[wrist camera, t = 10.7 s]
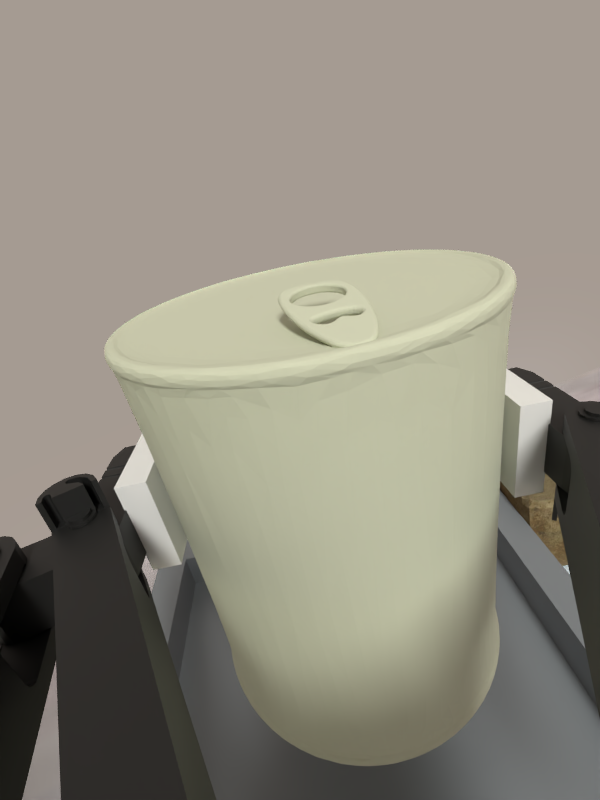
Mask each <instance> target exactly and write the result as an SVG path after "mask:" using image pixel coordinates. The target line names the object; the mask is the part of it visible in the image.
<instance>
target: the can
mask: <svg viewBox="0 0 600 800" xmlns="http://www.w3.org/2000/svg"><path fill="white" fill-rule="evenodd" d="M516 285H517V281H516V275H515V273H514V270H513V269H512V268H511V267H510V266H509V265H508V264H507V263H506V262H504V261H502V260H500V259H497V258H495V257H492V256H488V255H485V254H480V253H475V252H466V251H457V250H402V251H387V252H376V253H367V254H357V255H349V256H342V257H335V258H329V259H323V260H317V261H311V262H305V263H300V264H295V265H290V266H285V267H280V268H276V269H272V270H267V271H263V272H259V273H255V274H251V275H247V276H243V277H239V278H235V279H231V280H228V281H224V282H221V283H218V284H214V285H211V286H208V287H205V288H202V289H199V290H196V291H193V292H190V293H188V294H185V295H182V296H180V297H177V298H174V299H172V300H169V301H167V302H164V303H162V304H160V305H158V306H155V307H153V308H151V309H149V310H147V311H145V312H143V313H141V314H139V315H138V316H136V317H134V318H133V319H131V320H130V321H128V322H126V323H125V324H124V325H122V326H121V327H120V328H119V329H117V330H116V331H115V332H114V333H113V334H112V335H111V336H110V337H109V339H108V341H107V343H106V345H105V348H104V350H105V351H104V353H105V359H106V362H107V364H108V365H109V367H110V368H111V369H112V370H113V372H114V374H115V376H116V378H117V379H118V381H119V383H120V386H121V388H122V390H123V392H124V394H125V397H126V399H127V401H128V403H129V405H130V407H131V410H132V412H133V414H134V416H135V419H136V421H137V423H138V425H139V427H140V430H141V432H142V434H143V436H144V438H145V441H146V443H147V445H148V448H149V450H150V452H151V455H152V457H153V459H154V462H155V464H156V466H157V469H158V471H159V473H160V476H161V478H162V480H163V483H164V485H165V487H166V490H167V492H168V494H169V497H170V499H171V502H172V504H173V506H174V509H175V511H176V513H177V516H178V518H179V520H180V523H181V525H182V527H183V530H184V532H185V534H186V537H187V539H188V542H189V544H190V547H191V549H192V551H193V554H194V556H195V559H196V561H197V564H198V566H199V568H200V571H201V573H202V576H203V578H204V581H205V583H206V585H207V588H208V590H209V593H210V595H211V598H212V600H213V602H214V605H215V607H216V610H217V612H218V615H219V618H220V620H221V623H222V625H223V628H224V630H225V633H226V636H227V638H228V641H229V644H230V647H231V650H232V657H233V663H234V667H235V670H236V674H237V677H238V679H239V682H240V685H241V687H242V689H243V691H244V693H245V695H246V697H247V698H248V700H249V702H250V704H251V705H252V707H253V708H254V710H255V711H256V712H257V713H258V715H259V716H260V717H261V718H262V720H263V721H264V722H265V723H266V724H267V725H268V726H269V727H270V728H271V729H272V730H273V731H274V732H276V733H277V734H278V735H279V736H281V737H282V738H283V739H284V740H286V741H287V742H289V743H290V744H292V745H294V746H296V747H297V748H299V749H301V750H303V751H305V752H307V753H309V754H311V755H313V756H316V757H318V758H322V759H325V760H329V761H332V762H336V763H340V764H347V765H354V766H379V765H388V764H394V763H399V762H402V761H405V760H409V759H412V758H415V757H418V756H420V755H423V754H425V753H427V752H429V751H431V750H433V749H435V748H437V747H438V746H440V745H442V744H443V743H444V742H446V741H447V740H448V739H450V738H451V737H453V736H454V735H455V734H456V733H457V732H458V731H459V730H460V729H461V728H463V727H464V726H465V725H466V724H467V722H468V721H469V720H470V719H471V718H472V717H473V716H474V714H475V713H476V711H477V710H478V708H479V707H480V705H481V704H482V702H483V701H484V699H485V697H486V695H487V693H488V691H489V689H490V687H491V684H492V681H493V678H494V675H495V671H496V667H497V663H498V656H499V647H500V635H499V622H498V617H497V612H496V608H495V603H496V565H497V536H498V513H499V494H500V475H501V456H502V436H503V417H504V400H505V384H506V368H507V353H508V338H509V327H510V319H511V310H512V302H513V296H514V294H515V290H516Z"/></svg>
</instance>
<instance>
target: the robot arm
mask: <svg viewBox="0 0 600 800" xmlns="http://www.w3.org/2000/svg"><path fill="white" fill-rule="evenodd" d="M545 473H546V474H547V475H548V476H549V477H550V478H551V479H552V480H553V481H554V482H555V483H556V488H555V496H554V505H553V513H552V520H554V521H557V516H558V518H559V523H560V527H561V532H562V537H563V542H564V547H565V552H566V557H567V561H568V566H569V571H570V576H571V581H572V586H573V591H574V596H575V600H576V605H577V610H578V615H579V620H580V625H581V630H582V634H583V639H584V644H585V649H586V654H587V659H588V664H589V668H590V673H591V678H592V683H593V688H594V693H595V698H596V703H597V707H598V712H599V717H600V402H595V401H587V402H579V401H578V400H576V399H574V398H573V397H571V396H570V395H568V394H566V393H565V392H563V391H562V390H560V389H559V388H557V387H553V385H552V384H551V383H549V382H547V381H544V379H543V378H541V377H540V376H538V375H536V374H535V373H533V372H530V371H527V370H524V369H520V368H511V369H507V368H506V384H505V400H504V417H503V436H502V456H501V475H500V481H501V482H502V483H503V485H504V486H505V487H506V488H507V489H508V491H509V492H510V493H511V494H512V495H513V496H514V498H516V497H521V496H526V495H531V494H536V493H541V492H543V489H544V480H545ZM35 505H36V507H37V509H38V510H39V512H40V514H41V516H42V517H43V519H44V521H45V522H46V524H47V525H48V527H49V529H50V530H51V532H52V536H50V537H48V538H46V539H43V540H41V541H38V542H36V543H34V544H31V545H29V546H26V547H24V548H20V547H19V545H18V544H17V542H16V541H15V540H14V539H13V538H12V537H6V536H4V537H0V800H22V797H23V793H24V789H25V785H26V781H27V777H28V773H29V768H30V764H31V760H32V756H33V752H34V748H35V744H36V740H37V736H38V731H39V727H40V723H41V719H42V715H43V711H44V707H45V703H46V699H47V694H48V690H49V686H50V682H51V678H52V674H53V670H54V666H55V662H56V669H57V698H58V726H59V754H60V782H61V800H216V797H215V793H214V790H213V787H212V784H211V781H210V778H209V774H208V771H207V768H206V765H205V762H204V759H203V755H202V752H201V749H200V746H199V743H198V740H197V736H196V733H195V730H194V727H193V724H192V721H191V717H190V714H189V711H188V708H187V705H186V702H185V699H184V695H183V692H182V689H181V686H180V683H179V680H178V676H177V673H176V670H175V667H174V664H173V661H172V657H171V654H170V651H169V648H168V645H167V642H166V638H165V635H164V632H163V629H162V626H161V623H160V620H159V616H158V613H157V610H156V607H155V604H154V601H153V597H152V594H151V591H150V588H149V585H148V582H147V579H146V577H145V575H144V573H143V571H142V569H141V568H142V565H143V562H144V559H145V556H147V558H148V560H149V562H150V564H151V566H152V568H153V570H156V569H161V568H166V567H171V566H176V565H181V564H182V561H183V556H184V552H185V547H186V543H187V537H186V534H185V532H184V530H183V527H182V525H181V523H180V520H179V518H178V516H177V513H176V511H175V509H174V506H173V504H172V502H171V499H170V497H169V494H168V492H167V490H166V487H165V485H164V483H163V480H162V478H161V476H160V473H159V471H158V469H157V466H156V464H155V462H154V459H153V457H152V455H151V452H150V450H149V448H148V445H147V443H146V441H145V438H144V436H143V434H142V435H141V437H140V439H139V441H138V443H137V444H136V445H135V446H130V447H125V448H124V449H123V450H122V451H120V452H119V453H118V454H117V455H116V456H115V457H114V458H113V459H112V461H111V462H110V464H109V466H108V467H107V471H105V473H104V474H103V476H102V479H101V480H100V481H99V483H98V481H97V479H96V478H95V477H94V476H93V475H90V474H80V475H74V476H71V477H69V478H66V479H63V480H62V481H60V482H58V483H56V484H54V485H52V486H51V487H50V488H48V489H47V490H45V491H44V492H43V493H42V494H41V495H40V497H39V498H38V499H37V502H36V504H35Z"/></svg>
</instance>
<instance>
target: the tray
mask: <svg viewBox="0 0 600 800" xmlns="http://www.w3.org/2000/svg"><path fill="white" fill-rule="evenodd" d="M152 597H153V601H154V604H155V607H156V610H157V613H158V616H159V620H160V623H161V626H162V629H163V632H164V635H165V638H166V642H167V645H168V648H169V651H170V654H171V657H172V661H173V664H174V667H175V670H176V673H177V676H178V680H179V683H180V686H181V689H182V692H183V695H184V699H185V702H186V705H187V708H188V711H189V714H190V717H191V721H192V724H193V727H194V730H195V733H196V736H197V740H198V743H199V746H200V749H201V752H202V755H203V759H204V762H205V765H206V768H207V771H208V774H209V778H210V781H211V784H212V787H213V790H214V793H215V797H216V800H600V717H599V712H598V707H597V703H596V698H595V693H594V688H593V683H592V678H591V673H590V668H589V664H588V659H587V654H586V649H585V644H584V639H583V634H582V630H581V625H580V620H579V615H578V610H577V605H576V600H575V596H574V591H573V586H572V581H571V576H570V575H569V574H568V572H567V571H566V570H565V569H564V567H563V566H562V565H561V564H560V563H559V561H558V560H557V559H556V558H555V556H554V555H553V554H552V553H551V552H550V550H549V549H548V548H547V547H546V545H545V544H544V543H543V542H542V541H541V539H540V538H539V537H538V536H537V534H536V533H535V532H534V531H533V530H532V528H531V527H530V526H529V525H528V524H527V522H526V521H525V520H524V519H523V517H522V516H521V515H520V514H519V513H518V511H517V510H516V509H515V508H514V506H513V505H512V504H511V503H510V502H509V500H508V499H507V498H506V497H505V495H504V494H503V493H502V492H501V491H500V494H499V513H498V536H497V565H496V603H495V608H496V612H497V617H498V622H499V635H500V647H499V656H498V663H497V667H496V671H495V675H494V678H493V681H492V684H491V687H490V689H489V691H488V693H487V695H486V697H485V699H484V701H483V702H482V704H481V705H480V707H479V708H478V710H477V711H476V713H475V714H474V716H473V717H472V718H471V719H470V720H469V721H468V722H467V724H466V725H465V726H464V727H463V728H461V729H460V730H459V731H458V732H457V733H456V734H455V735H454V736H453V737H451V738H450V739H448V740H447V741H446V742H444V743H443V744H442V745H440V746H438V747H437V748H435V749H433V750H431V751H429V752H427V753H425V754H423V755H420V756H418V757H415V758H412V759H409V760H405V761H402V762H399V763H394V764H388V765H379V766H354V765H347V764H340V763H336V762H332V761H329V760H325V759H322V758H318V757H316V756H313V755H311V754H309V753H307V752H305V751H303V750H301V749H299V748H297V747H296V746H294V745H292V744H290V743H289V742H287V741H286V740H284V739H283V738H282V737H281V736H279V735H278V734H277V733H276V732H274V731H273V730H272V729H271V728H270V727H269V726H268V725H267V724H266V723H265V722H264V721H263V720H262V718H261V717H260V716H259V715H258V713H257V712H256V711H255V710H254V708H253V707H252V705H251V704H250V702H249V700H248V698H247V697H246V695H245V693H244V691H243V689H242V687H241V685H240V682H239V679H238V677H237V674H236V670H235V667H234V663H233V657H232V650H231V647H230V644H229V641H228V638H227V636H226V633H225V630H224V628H223V625H222V623H221V620H220V618H219V615H218V612H217V610H216V607H215V605H214V602H213V600H212V598H211V595H210V593H209V590H208V588H207V585H206V583H205V581H204V578H203V576H202V573H201V571H200V568H199V566H198V564H197V561H196V559H195V556H194V554H193V551H192V549H191V547H190V544H189V542H188V540H187V543H186V547H185V552H184V556H183V561H182V564H181V565H176V566H171V567H166V568H161V569H158V572H157V576H156V580H155V583H154V587H153V590H152Z"/></svg>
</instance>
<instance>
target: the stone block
mask: <svg viewBox="0 0 600 800" xmlns="http://www.w3.org/2000/svg"><path fill="white" fill-rule="evenodd" d="M555 488H556V483H555V482H554V481H553V480H552V479H551V478H550V477H549V476H548V475H547V474H546V473H545V480H544V489H543V492H541V493H536V494H531V495H526V496H521V497H516V498H514V496H513V495H512V494H511V493H510V492H509V491H508V489H507V488H506V487H505V486H504V485H503V483H502V482H501V481H500V491H501V492H502V493H503V494H504V495H505V497H506V498H507V499H508V500H509V502H510V503H511V504H512V505H513V506H514V508H515V509H516V510H517V511H518V513H519V514H520V515H521V516H522V517H523V519H524V520H525V521H526V522H527V524H528V525H529V526H530V527H531V528H532V530H533V531H534V532H535V533H536V534H537V536H538V537H539V538H540V539H541V541H542V542H543V543H544V544H545V545H546V547H547V548H548V549H549V550H550V552H551V553H552V554H553V555H554V556H555V558H556V559H557V560H558V561H559V563H560V564H561V565H562V566H564V565H568V561H567V557H566V552H565V547H564V542H563V537H562V532H561V527H560V523H559V518H558V516H557V521H554V520H552V513H553V505H554V496H555Z"/></svg>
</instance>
